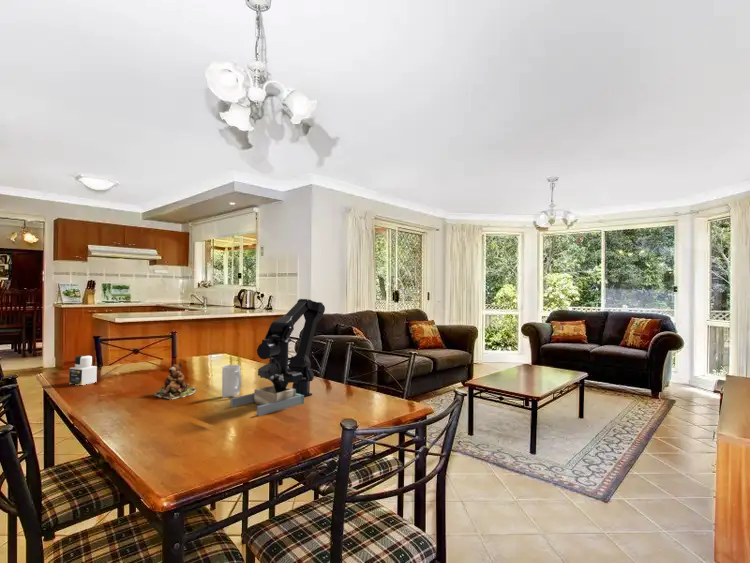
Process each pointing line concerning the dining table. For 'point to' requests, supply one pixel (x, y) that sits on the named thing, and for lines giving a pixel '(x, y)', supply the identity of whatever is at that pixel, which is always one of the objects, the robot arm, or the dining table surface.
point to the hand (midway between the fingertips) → (279, 397)
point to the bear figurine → (175, 385)
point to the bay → (270, 406)
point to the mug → (231, 380)
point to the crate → (272, 395)
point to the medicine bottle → (83, 371)
